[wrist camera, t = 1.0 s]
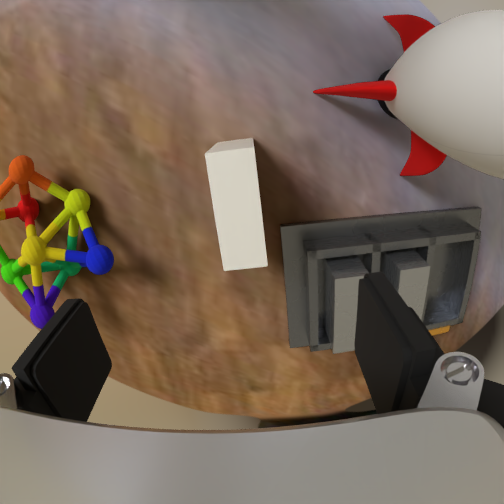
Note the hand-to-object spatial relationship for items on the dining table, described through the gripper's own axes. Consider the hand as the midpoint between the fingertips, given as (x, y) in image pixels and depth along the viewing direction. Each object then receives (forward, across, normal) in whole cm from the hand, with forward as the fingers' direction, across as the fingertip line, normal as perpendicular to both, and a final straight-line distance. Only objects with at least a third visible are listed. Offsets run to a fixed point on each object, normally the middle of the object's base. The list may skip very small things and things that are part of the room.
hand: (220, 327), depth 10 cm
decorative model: (+20, +19, 0) cm, 27 cm away
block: (+19, 0, -1) cm, 19 cm away
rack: (+20, -14, +10) cm, 26 cm away
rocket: (+19, -15, -8) cm, 26 cm away
